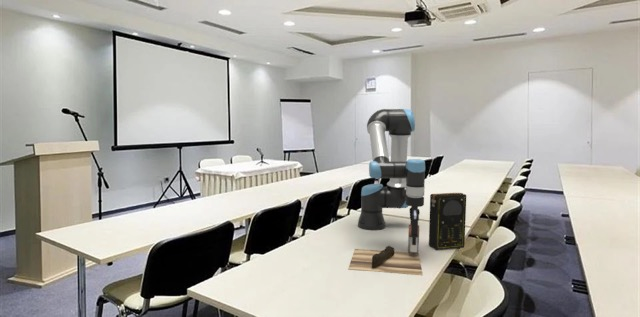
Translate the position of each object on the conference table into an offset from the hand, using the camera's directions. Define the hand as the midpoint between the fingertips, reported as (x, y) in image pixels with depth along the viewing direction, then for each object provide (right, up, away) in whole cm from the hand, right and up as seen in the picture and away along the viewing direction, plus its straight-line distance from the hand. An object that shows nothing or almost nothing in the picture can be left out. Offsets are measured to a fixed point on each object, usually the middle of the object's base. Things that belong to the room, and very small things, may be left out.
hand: (413, 249), depth 157 cm
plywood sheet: (-13, -3, -6) cm, 14 cm away
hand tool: (-14, -4, -7) cm, 16 cm away
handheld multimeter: (+18, -2, +12) cm, 22 cm away
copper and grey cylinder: (0, -2, 0) cm, 1 cm away
